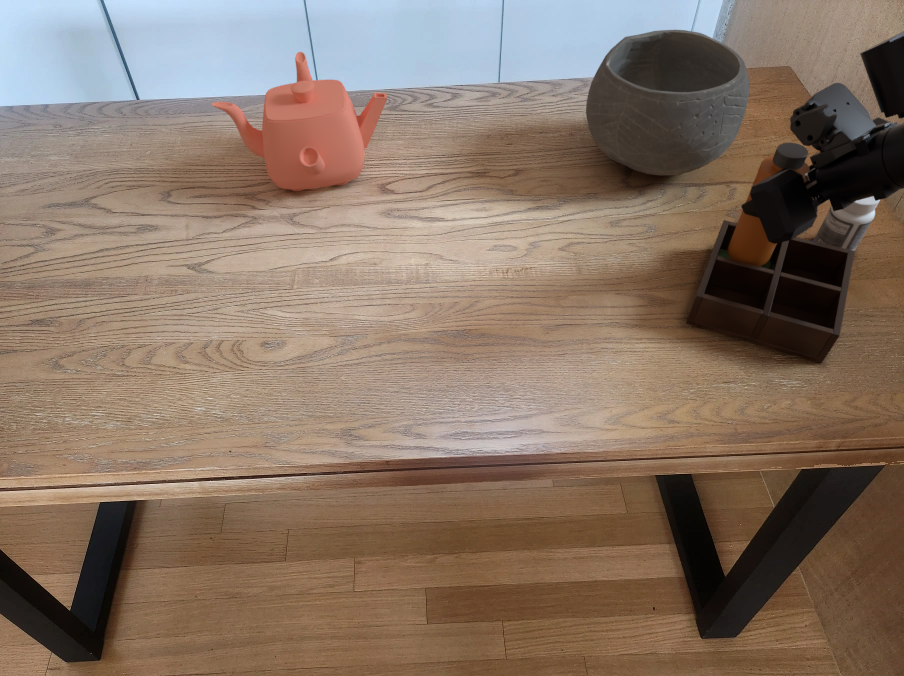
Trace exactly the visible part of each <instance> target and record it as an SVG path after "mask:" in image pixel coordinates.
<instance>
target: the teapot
mask: <svg viewBox="0 0 904 676" xmlns="http://www.w3.org/2000/svg"><path fill="white" fill-rule="evenodd" d="M294 61H295V68H296V69H295V70H296V81H295V82H292V83H287V84H281V85H277V86H275V87H271V88H269V89H268V90H267V91H266V93H265V96H264V103H263V112H262V124H261V129H257V128H256V127H253V126H252V124H250V123H249V121H248V119H247V117H246V115H245V114H244V112H243V110H242V109H241V108H240V107H239V106H238V105H236V104H235V103H232V102H229V101H215V102H212V103H211V106H212V107H214V108H217V109H219V110H221V111H223V112H224V113H226V114H227V115H228V116H229V117H230V118H231V120H232V121H233V123H234V125H235V126H236V129H237V131H238V133H239V136H240V138H241V140H242V142H243V143H244V145H245V146H246V148H247V149H248V150H249V151H250V152H251V153H252V154H254V155H255V156H258V157H260V158H263V159H264V163H265V168H266V172H267V173H266V174H267V175H268V177H269V178H270V180H271V181H272V183H273V184H274V185H275V186H276V187H277V188H279V189H282V190H290V191H293V192H300V191H304V190H309V189H310V190H311V189H320V188H326V187H331V186H334V185H335V186H344V185H346V184H348V183H349V182H351V181H353V180H355V179H357V178H359V177H360V176H361V173H362V171H363V168H364V165H365V152H366V150H365V149H368V147H369V144H370V142H371V139H372V137H373V134H374V132H375V129H376V128H377V124H378V122H379V120H380V117H381V115H382V112H383V110H384V107H385V106H386V102H387V100H388V96H387V95H388V94H387V92H373V95H372V97H370V100H369V101H368V103H367V104H366V105H365V107H364V108H363V110H362V111H361V113H360V115H357V112H356V109H355V107H354V104H353V101H352V100H351V97H350V96H349V93H348V91H347V89H346V87H345V86H344V84H343V83H342V81H340V80H338V79H314V80H313V78H312V75H311V73H310V69H309V65H308V60H307V56H306V54H305V53H304V52H303V51H298V52H296V53H295V57H294Z"/></svg>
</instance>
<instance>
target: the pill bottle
mask: <svg viewBox="0 0 904 676" xmlns="http://www.w3.org/2000/svg"><path fill="white" fill-rule="evenodd" d="M880 201H881V200H877V201H875V199H874V196H873V197H869V198H865V199H861V200H857V201H855V202H854V201H853V202H854V203H852V204H851V205H849V206H847V207H846V208H844V209H841V210H837V211H833V208H832V205H831V204H830V207H829V209H828V211H827V213H826V215H825V217H824V219H823V221H822V223H821V225H820V226H819V229H818V230H817V233H816V235H815V236H814V239H813V241H815V242H819V243H823V244H828V245H832V246H836V247H840V248H844V249H848V250H853V251H855V252H856V250H857V248H858V246H859V244H860V243H861V241H862V239H864V236H865V234H866V232H867V230H868V229H869V227H870V226H871V224H872V222H873V220H874V218H875V216H876V208H877V207H878V205H879V203H880Z"/></svg>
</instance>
